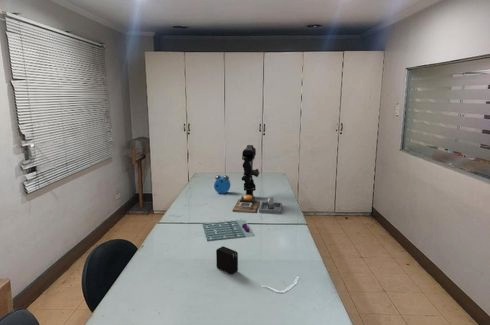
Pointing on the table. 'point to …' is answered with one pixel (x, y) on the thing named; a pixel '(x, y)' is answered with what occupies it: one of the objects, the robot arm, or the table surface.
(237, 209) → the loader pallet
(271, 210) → the gray square frame
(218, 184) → the alarm clock
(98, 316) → the table surface
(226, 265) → the electronic device
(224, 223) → the calendar
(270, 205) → the cylinder
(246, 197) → the button
